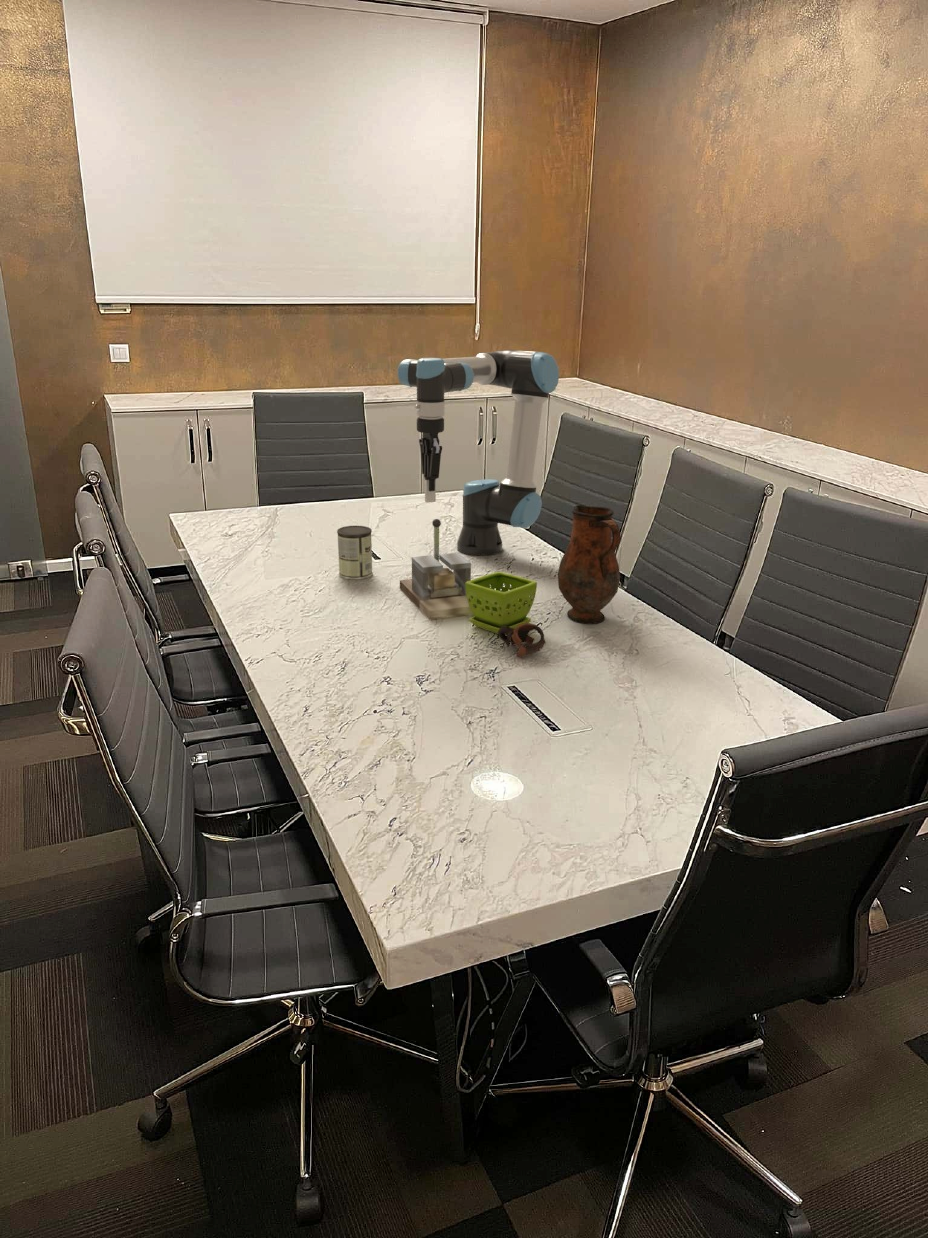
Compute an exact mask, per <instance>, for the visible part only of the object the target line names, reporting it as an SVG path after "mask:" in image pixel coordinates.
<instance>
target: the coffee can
mask: <svg viewBox="0 0 928 1238" xmlns="http://www.w3.org/2000/svg"><path fill="white" fill-rule="evenodd" d="M372 532H373V531H372V528H371V527H368V526H364V525H347V526H342V527H340V528H338V529H337V530H336V533H337V549H338V550H337V551H338V554H337V555H338V573H339V574H338V575H339V577H340V578H342V579H345V580H351V581H352V580H355V581H356V580H357V581H358V580H365V579H368V578H370V577H372V576H373V556H372V555H373V552H372V551H373V549H372Z"/></svg>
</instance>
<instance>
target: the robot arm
mask: <svg viewBox="0 0 928 1238" xmlns="http://www.w3.org/2000/svg"><path fill="white" fill-rule="evenodd" d="M559 378H560V370H559V366H558V363H557V361H556V359H555V357H554V356H552V354H549V353H546V352H541V351H529V350H528V351H527V350H515V349H504V350H497V351H490V352H489V351H488V352H481V353H478V354H477V355H476V356H469V357H468V356H466V357H464V356H463V357H449V358H440V357H422V358H419V359H414V358H410V359H407V358H406V359H405V358H404V360H402V361H401V362H400V363H399V365H398V367H397V379H398V381H399V382H400V384H401V385H403V386H405V387H410V388H412V387H413V388H416V404H415V406H414V407H415V410H416V415H417V416H418V417H417V418H416V431H417V432H419V433H422V437H421V438H419V439H418V443H419V449H420V461H421V465H420V466H421V475H423V477H424V502H425V503H436V499H437V496H436V495H437V493H436V492H437V490H436V489H437V487H436V486H437V485H436V483H437V482H436V481H437V479H439V478H440V468H441V467H440V466H441V459H442V458H441V457H442V452H443V446H442V445H440V438H439V434H440V433H442V432H443V433H444V431H445V418H444V416H445V406H446V405H445V402H446V401H445V394H446V393H452V392H462V391H465V390H468V389H469V388H470V387H472V385H473V383H477V384H479V385H482V386H483V385H484V386H486V385H489V386H497V387H501V388H506V389H511V392H510V396H511V397H512V398H513V399H514V400H515V401H514V408H513V416H512V424H511V433H510V438H509V439H510V440H509V447H508V448H509V449H508V456H507V457H508V458H507V466H506V473H505V478H503V479H502V480H501V481H499V480H498V479H494V478H489V479H477V480H471V481H468V482H466V483H465V484H464V485H463V491H462V493H463V494H462V527H461V530H460V533H459V536H458V539H457V542H456V544H457V545H456V549H457V550H458V552H459V553H461V554H462V553H463V554H466V555H470V556H472V555H473V556H492V555H495V554H498V553H501V552H502V551H503V541H502V537H501V534H500V530H499V524H501V525H506V526H510V527H513V528H519V529H521V528H522V529H526V528H529V527H531V526H532V525H533V524H534V523H535V522H536V521H537V519H538V518H539V516H540V513H541V510H542V506H543V505H542V504H543V501H542V498H541V495H540V494H539V493H537V485H536V483H535V482H534V481H533V479H534V473H535V472H534V471H535V464H536V457H537V449H538V443H539V442H538V441H539V434H540V427H541V419H542V412H543V406H544V405H543V404H544V403H545V402H546V401H548V400H549V394H551V393H553V392H554V391H555V390H556V388H557V386H558V384H559Z"/></svg>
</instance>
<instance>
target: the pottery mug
mask: <svg viewBox="0 0 928 1238" xmlns="http://www.w3.org/2000/svg"><path fill="white" fill-rule="evenodd" d="M534 630H535V631H536V632H537V633H538V634H539V635H540V639H539V640H538V641H537V642H534V641H535V637H533V636H530V635H529V633H530V631H534ZM497 635H498V637H499V638H500V640H502V641H503V643H505V645H506V647H507V648H509V647H510V646H512V647H513V646H516V647H517V648H518V651H517V652H516V656H517V657H519V658H520V659H524V658H525V656H530V655H533V654H536V653H539V652H540V651H541V650H542V649H543V648H544V645H545V644H546V639H545V633H544V631H543V629H542V628H541V627H539V626H538V625H536V624H533V623H531V622H530V623H523V624H520V625H519V626H517V627H516V628H510V627H508V626H502V627H500V629H499V630H498V634H497ZM522 643H525V645H524V644H522Z"/></svg>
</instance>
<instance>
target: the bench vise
mask: <svg viewBox="0 0 928 1238" xmlns="http://www.w3.org/2000/svg"><path fill="white" fill-rule="evenodd" d="M440 561H441V562H440ZM444 565H445V566H446V568H448V569H450V570H451V571H452V572H453V573H454V574H455V582H456V583H457V584H458V585H459V586H460V587H461V588H462V593H461V595H452V596H443V597H434V598H431V597H430V596H429V595H428V572H436V571H443V568H444ZM471 577H472V563H471V561H470V560H468V559H467V558H466V557H465V556H464V555H462V553H461V552H451V553H441V554H440V553H439V562H438V561H437V560H436V559H435V558H434V555H432V554H431V555H429V554H428V555H419V556H412V557H411V578H409V579H399V589H400V590H401V591H402V592H403V593H404V594H405V595H406V597H408V598H409V600H410V601H411V602H412V603H413V604H414V605H415V606H416V607H417V608H418V609H419V610H420V611H421V613H423V614H424V616H425V617H426V618H427V619H428V620H429V621H432V620H440V619H447V618H448V619H449V618H456V617H464V616H472V615H473V613H472V611H471V609H470V607H469V604H468V600H467V596H466V589H465V583H466V582H467V581H470V580H472V578H471ZM473 616H474V615H473Z"/></svg>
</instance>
